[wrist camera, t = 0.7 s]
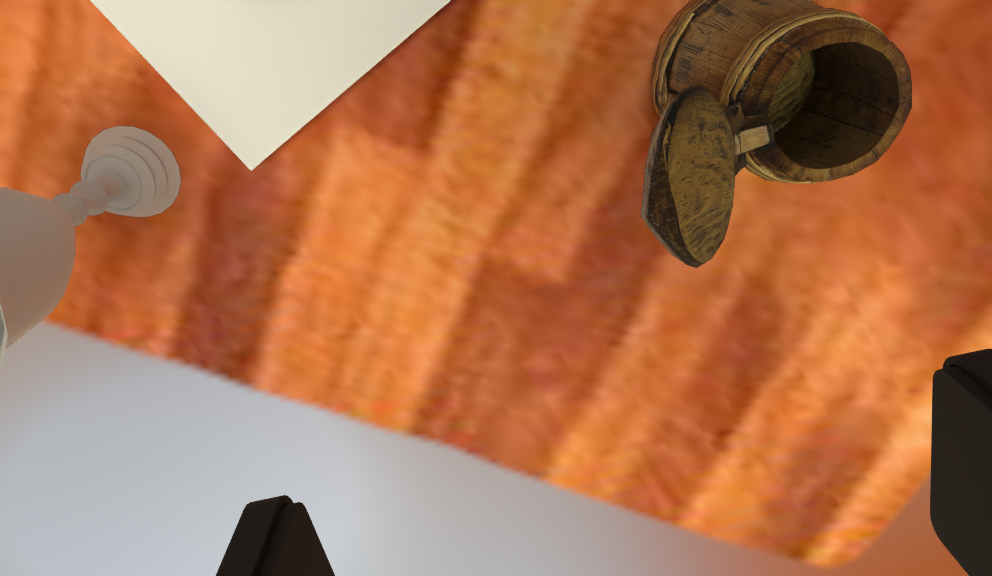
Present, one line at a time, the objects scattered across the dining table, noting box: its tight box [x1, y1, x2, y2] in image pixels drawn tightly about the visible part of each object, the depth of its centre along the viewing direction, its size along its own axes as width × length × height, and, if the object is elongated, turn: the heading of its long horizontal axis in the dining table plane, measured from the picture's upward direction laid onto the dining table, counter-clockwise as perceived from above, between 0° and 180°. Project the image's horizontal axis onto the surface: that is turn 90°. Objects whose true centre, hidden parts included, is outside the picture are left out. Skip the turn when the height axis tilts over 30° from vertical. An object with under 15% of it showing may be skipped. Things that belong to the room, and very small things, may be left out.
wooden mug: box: [641, 0, 912, 268], centre depth 30 cm, size 9×14×18 cm, turn 105°
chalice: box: [0, 126, 181, 366], centre depth 31 cm, size 7×7×18 cm
